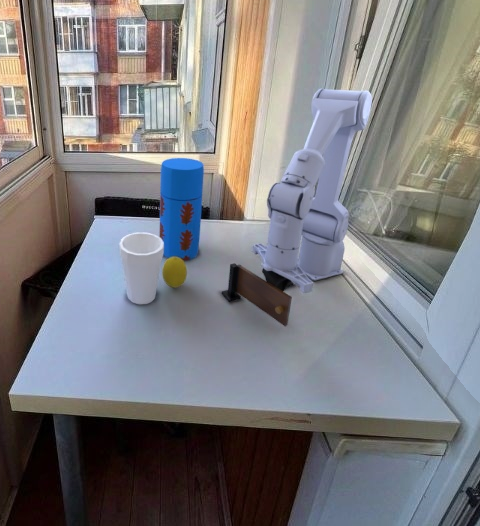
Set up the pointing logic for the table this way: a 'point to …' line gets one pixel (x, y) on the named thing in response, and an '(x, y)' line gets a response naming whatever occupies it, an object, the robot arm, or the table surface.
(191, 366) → the table surface
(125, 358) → the table surface
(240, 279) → the door
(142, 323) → the table surface
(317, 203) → the robot arm
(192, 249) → the thermos
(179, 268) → the lemon
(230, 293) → the door frame
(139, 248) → the foam cup
